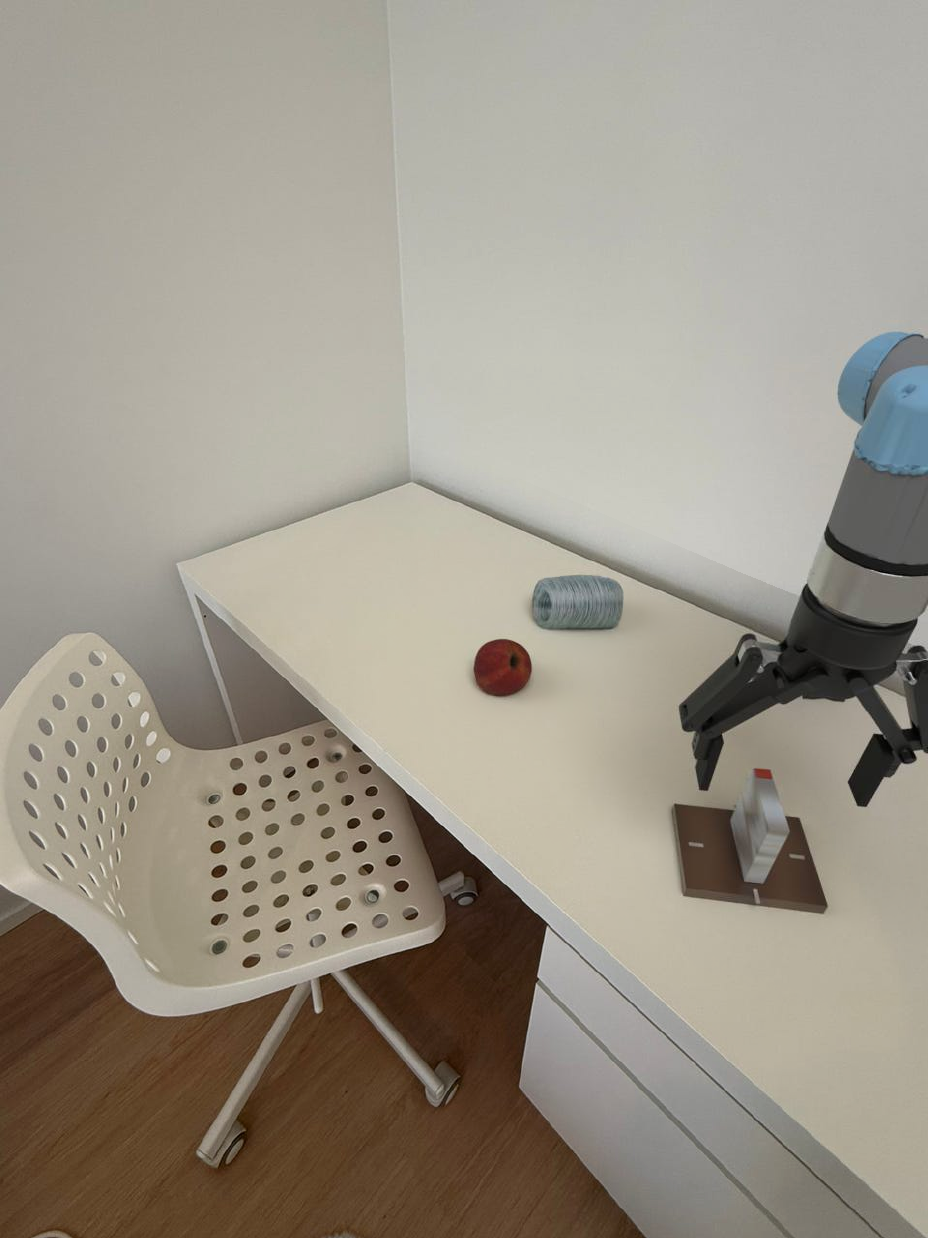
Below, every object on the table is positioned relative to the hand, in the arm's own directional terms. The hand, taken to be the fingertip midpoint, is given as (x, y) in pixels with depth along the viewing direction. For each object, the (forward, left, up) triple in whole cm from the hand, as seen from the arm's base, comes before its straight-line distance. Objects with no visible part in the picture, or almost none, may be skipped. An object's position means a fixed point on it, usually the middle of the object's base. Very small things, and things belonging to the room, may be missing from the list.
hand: (777, 786), depth 59 cm
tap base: (0, 0, -13) cm, 13 cm away
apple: (+27, -23, -13) cm, 38 cm away
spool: (+17, -39, -13) cm, 44 cm away
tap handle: (0, 0, -10) cm, 10 cm away
